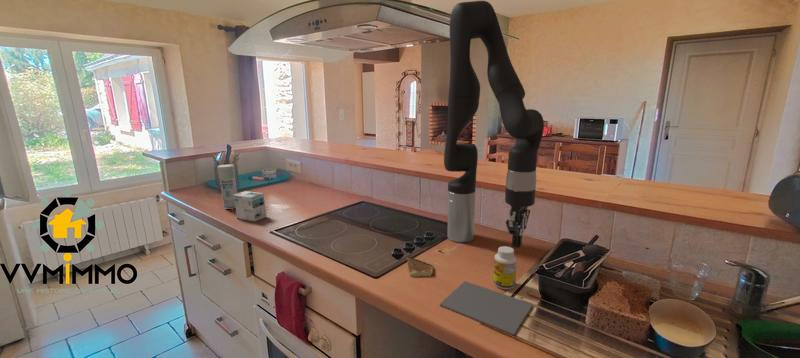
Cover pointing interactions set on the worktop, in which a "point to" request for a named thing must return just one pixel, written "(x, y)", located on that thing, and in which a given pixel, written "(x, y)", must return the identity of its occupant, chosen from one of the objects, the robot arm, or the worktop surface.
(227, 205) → the spray can
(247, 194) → the light bulb box
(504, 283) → the supplement bottle
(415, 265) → the shard
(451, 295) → the mat
